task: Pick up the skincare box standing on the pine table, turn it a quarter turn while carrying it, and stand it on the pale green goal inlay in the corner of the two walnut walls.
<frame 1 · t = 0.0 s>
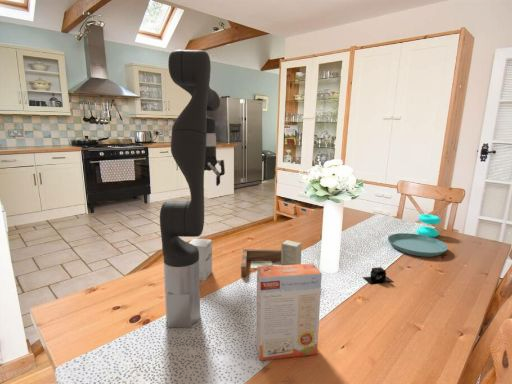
hand: (207, 185, 122), 29 cm above the table, tool pointing down, fingers open, 8 cm apart
donuts: (427, 234, 157), on the table
saucer: (415, 248, 139), on the table
cracker box: (285, 350, 73), on the table
wooden corner frame: (268, 267, 116), on the table
skincare box: (290, 274, 111), on the table
supplement box: (199, 275, 109), on the table
black tapered holder: (377, 281, 108), on the table
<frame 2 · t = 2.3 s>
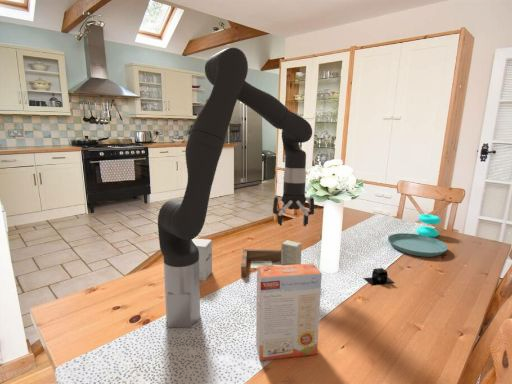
hand: (292, 225, 107), 19 cm above the table, tool pointing down, fingers open, 8 cm apart
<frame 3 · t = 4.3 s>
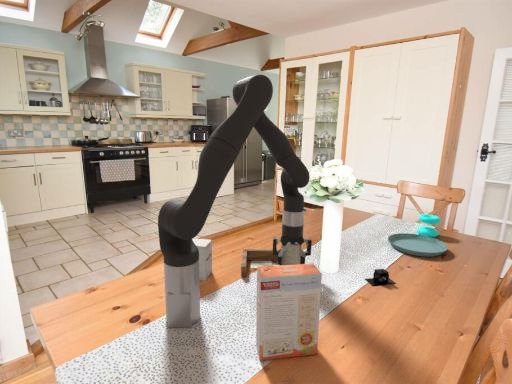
hand: (290, 265, 110), 3 cm above the table, tool pointing down, fingers closed on skincare box, 7 cm apart
skincare box: (290, 274, 111), on the table, touching gripper
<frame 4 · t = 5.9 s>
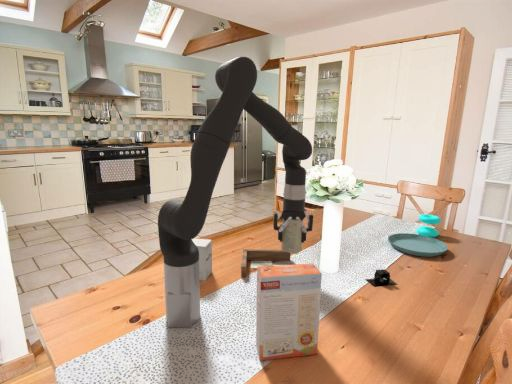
hand: (291, 241, 108), 13 cm above the table, tool pointing down, fingers closed on skincare box, 7 cm apart
skincare box: (291, 251, 109), point 9 cm above the table, touching gripper
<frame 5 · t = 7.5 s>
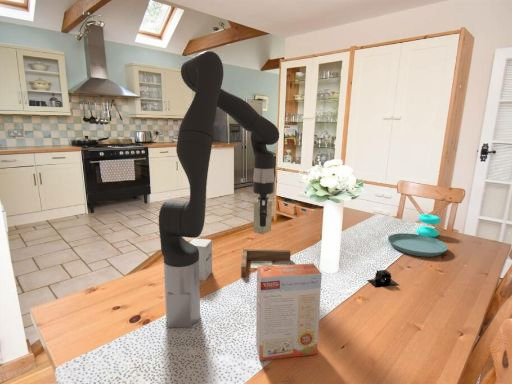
hand: (262, 222, 114), 17 cm above the table, tool pointing down, fingers closed on skincare box, 7 cm apart
skincare box: (262, 232, 115), point 14 cm above the table, touching gripper
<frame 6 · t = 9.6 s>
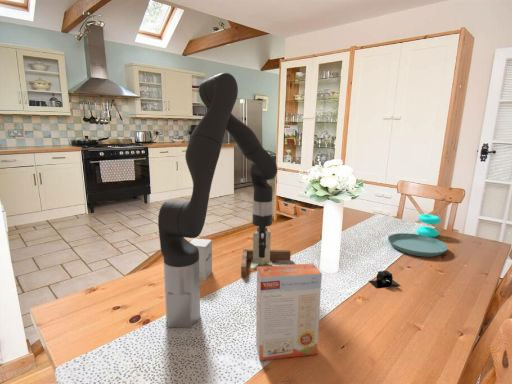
hand: (261, 253, 117), 5 cm above the table, tool pointing down, fingers closed on skincare box, 7 cm apart
skincare box: (261, 261, 117), point 1 cm above the table, touching gripper
when the fingers open (5 cm above the table, at t = 10.7 s): skincare box stays where it is, resting on wooden corner frame.
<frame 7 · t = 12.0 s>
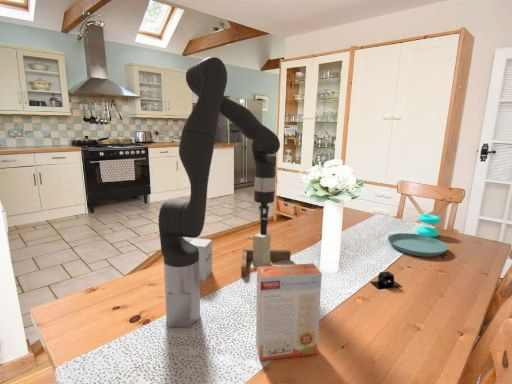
hand: (263, 231, 114), 14 cm above the table, tool pointing down, fingers open, 8 cm apart
skincare box: (261, 264, 118), resting on wooden corner frame
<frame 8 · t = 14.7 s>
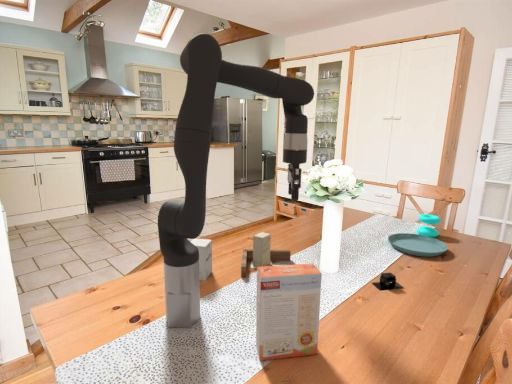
hand: (293, 197, 100), 30 cm above the table, tool pointing down, fingers open, 8 cm apart
at the end: skincare box inside the target area (0.3 cm from its centre), resting on wooden corner frame; skincare box tilted 0°; the gripper is holding nothing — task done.
